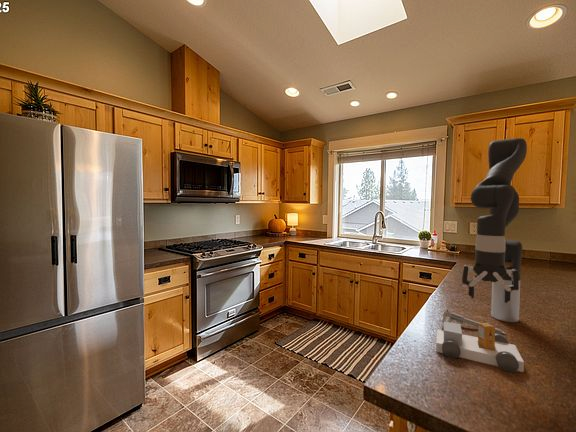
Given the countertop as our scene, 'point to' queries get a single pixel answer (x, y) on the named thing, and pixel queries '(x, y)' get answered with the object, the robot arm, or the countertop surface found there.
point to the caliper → (464, 320)
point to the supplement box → (486, 336)
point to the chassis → (468, 348)
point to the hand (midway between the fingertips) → (488, 299)
